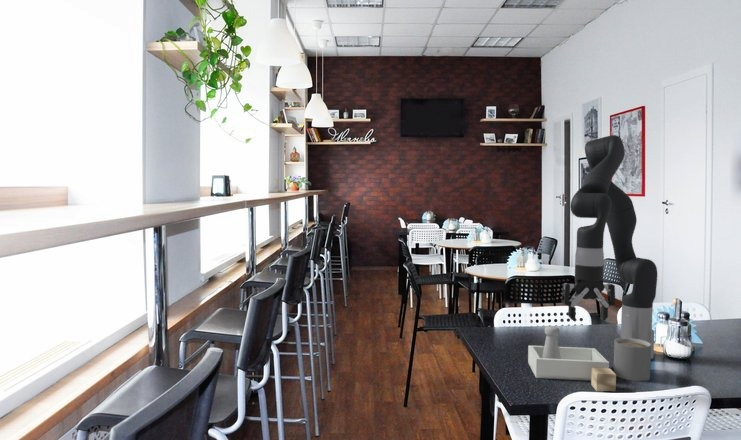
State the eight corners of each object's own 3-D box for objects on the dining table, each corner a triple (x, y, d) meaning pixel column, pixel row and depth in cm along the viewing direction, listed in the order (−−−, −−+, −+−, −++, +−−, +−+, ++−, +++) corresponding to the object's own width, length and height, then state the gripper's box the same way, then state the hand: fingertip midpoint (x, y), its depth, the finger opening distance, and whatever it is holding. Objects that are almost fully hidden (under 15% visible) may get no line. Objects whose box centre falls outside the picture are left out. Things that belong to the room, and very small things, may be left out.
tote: (594, 365, 167) (594, 348, 167) (608, 381, 153) (609, 362, 153) (528, 362, 170) (528, 345, 170) (536, 377, 156) (536, 359, 155)
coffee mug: (641, 383, 152) (642, 349, 151) (607, 374, 159) (608, 341, 159) (660, 373, 160) (661, 341, 160) (627, 365, 168) (628, 334, 167)
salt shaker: (559, 366, 164) (560, 325, 164) (562, 372, 159) (563, 329, 158) (540, 365, 165) (541, 324, 165) (542, 371, 160) (543, 328, 159)
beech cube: (609, 385, 150) (610, 368, 150) (615, 392, 145) (616, 374, 145) (591, 385, 150) (591, 367, 150) (596, 391, 145) (597, 373, 145)
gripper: (609, 262, 153) (607, 317, 154) (559, 261, 154) (558, 316, 155) (620, 265, 146) (618, 323, 147) (568, 264, 146) (567, 322, 147)
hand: (587, 319), depth 151 cm, fingers open, 8 cm apart
